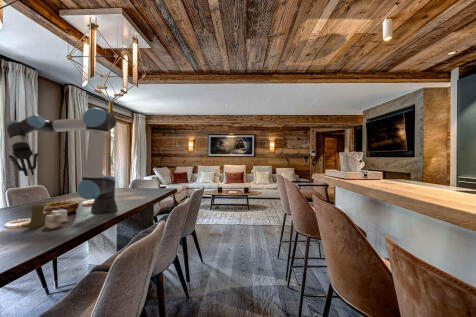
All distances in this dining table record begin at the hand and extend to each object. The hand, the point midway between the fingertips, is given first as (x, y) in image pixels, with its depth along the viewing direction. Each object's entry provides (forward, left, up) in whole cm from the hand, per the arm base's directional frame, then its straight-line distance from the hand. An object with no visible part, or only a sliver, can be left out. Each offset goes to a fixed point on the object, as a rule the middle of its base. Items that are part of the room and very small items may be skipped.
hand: (31, 180), depth 128 cm
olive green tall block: (-14, +11, -22) cm, 28 cm away
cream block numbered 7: (-19, +3, -22) cm, 29 cm away
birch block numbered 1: (-23, +12, -22) cm, 34 cm away
